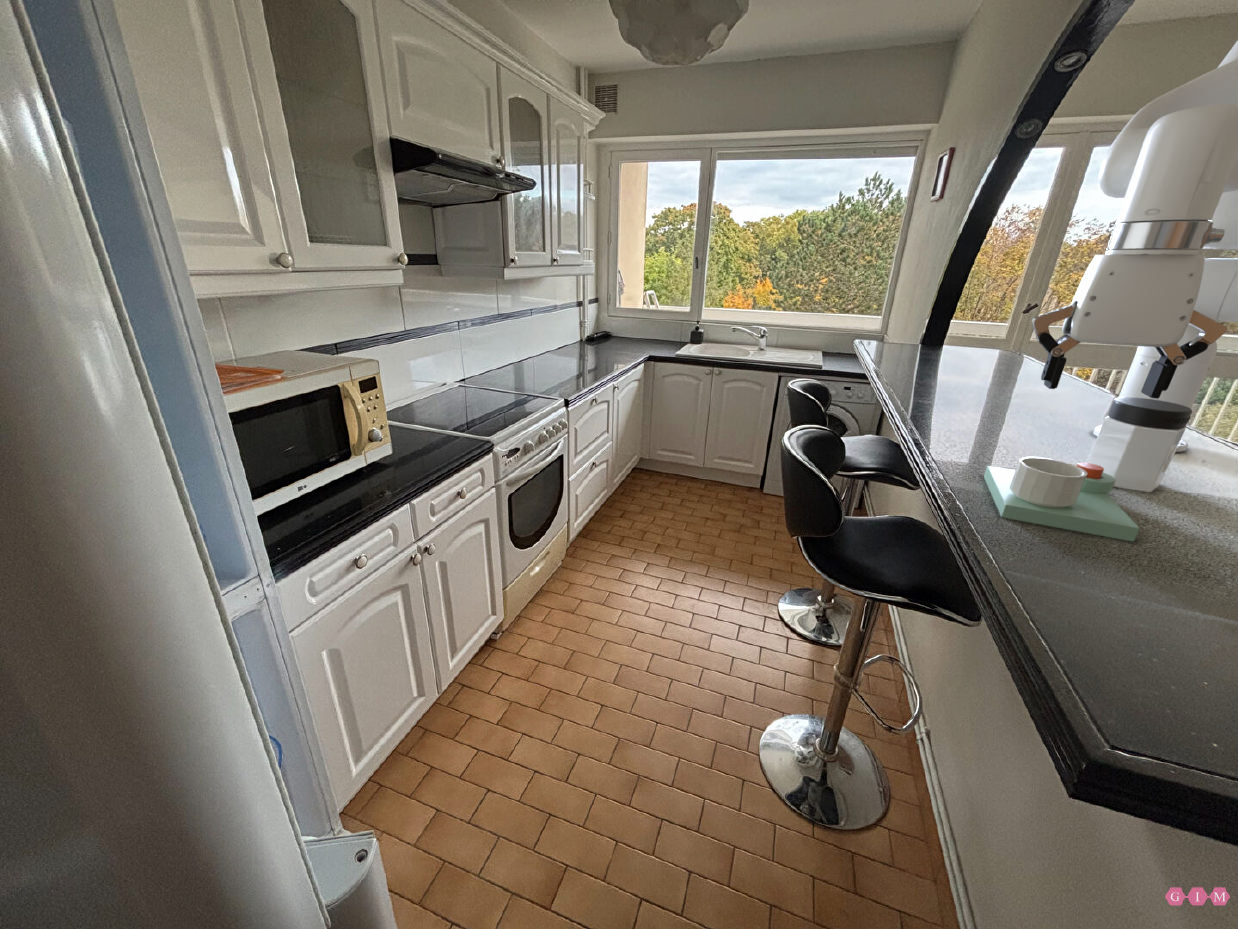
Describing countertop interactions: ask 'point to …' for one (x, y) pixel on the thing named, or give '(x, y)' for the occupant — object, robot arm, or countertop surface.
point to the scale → (1087, 515)
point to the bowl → (1047, 482)
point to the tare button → (1092, 470)
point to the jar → (1139, 441)
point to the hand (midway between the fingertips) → (1097, 391)
